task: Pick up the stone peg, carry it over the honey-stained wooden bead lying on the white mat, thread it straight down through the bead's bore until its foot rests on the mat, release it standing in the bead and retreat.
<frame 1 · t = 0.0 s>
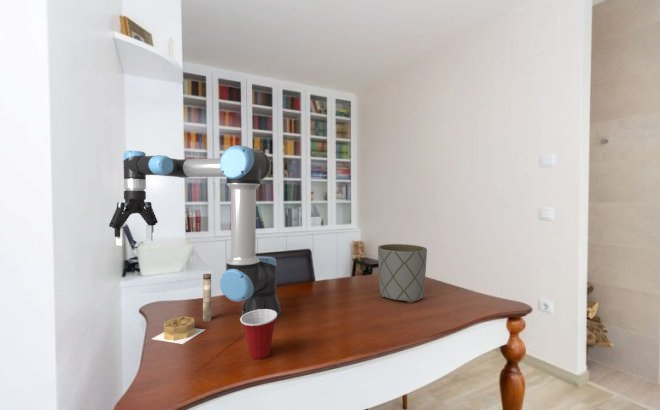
hand: (135, 243, 126), 28 cm above the table, fingers open, 13 cm apart
planter: (401, 296, 151), on the table
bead: (179, 334, 105), resting on mat
stone peg: (207, 322, 117), on the table
mat: (179, 337, 105), on the table
plastic cup: (258, 355, 94), on the table
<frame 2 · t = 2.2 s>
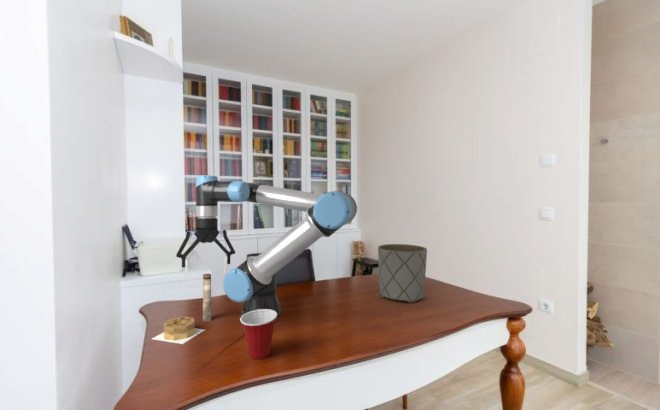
hand: (206, 274, 117), 18 cm above the table, fingers open, 13 cm apart
nothing on the table moved.
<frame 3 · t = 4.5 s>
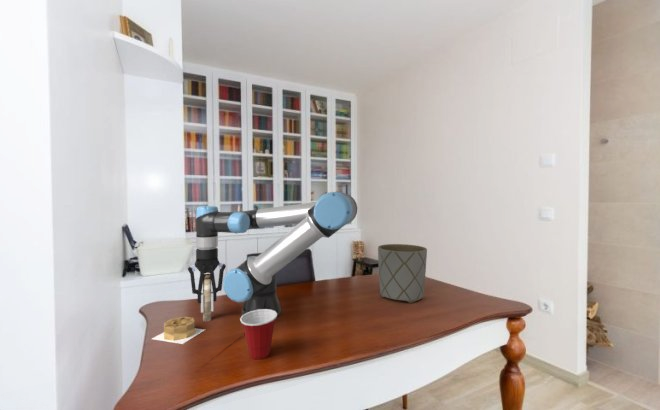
hand: (207, 310, 117), 5 cm above the table, fingers closed on stone peg, 3 cm apart
stone peg: (207, 322, 117), on the table, touching gripper
everything else where it was.
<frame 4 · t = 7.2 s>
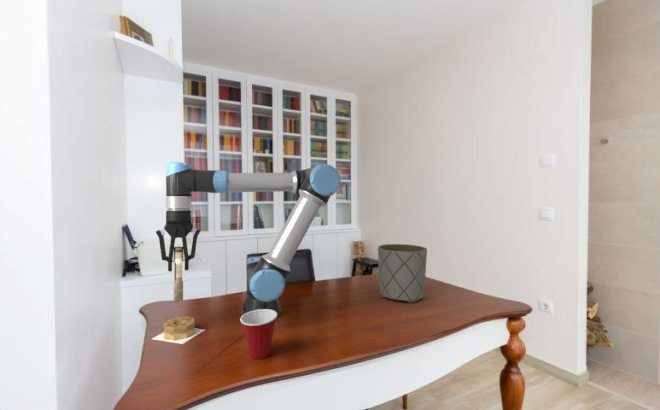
hand: (178, 280, 104), 19 cm above the table, fingers closed on stone peg, 2 cm apart
stone peg: (178, 301, 105), point 12 cm above the table, touching gripper
everything else where it was.
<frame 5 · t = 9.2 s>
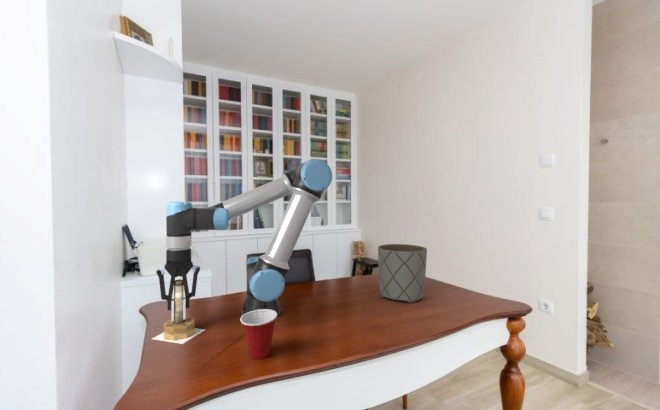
hand: (178, 318, 105), 6 cm above the table, fingers closed on stone peg, 3 cm apart
stone peg: (178, 334, 105), point 1 cm above the table, touching gripper, mat
everything else where it was.
when the fingers open (6 cm above the table, at t = 10.1 s): stone peg stays where it is, resting on mat.
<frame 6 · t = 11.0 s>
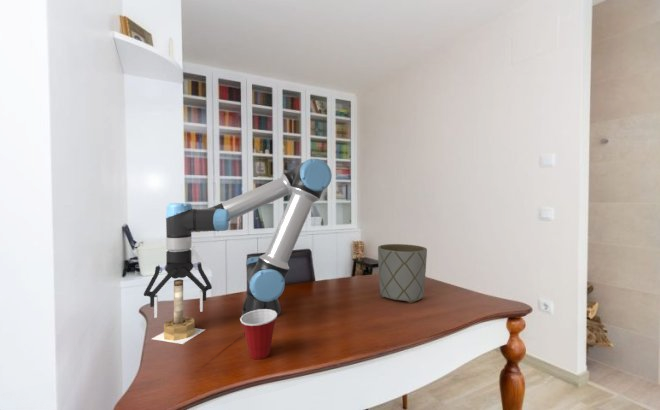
hand: (179, 313, 105), 8 cm above the table, fingers open, 13 cm apart
stone peg: (178, 334, 105), point 1 cm above the table, touching mat
everything else where it was.
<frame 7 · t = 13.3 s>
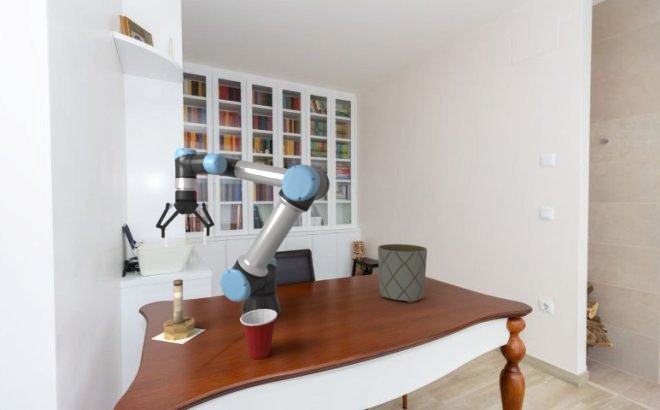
hand: (186, 245, 120), 28 cm above the table, fingers open, 13 cm apart
nothing on the table moved.
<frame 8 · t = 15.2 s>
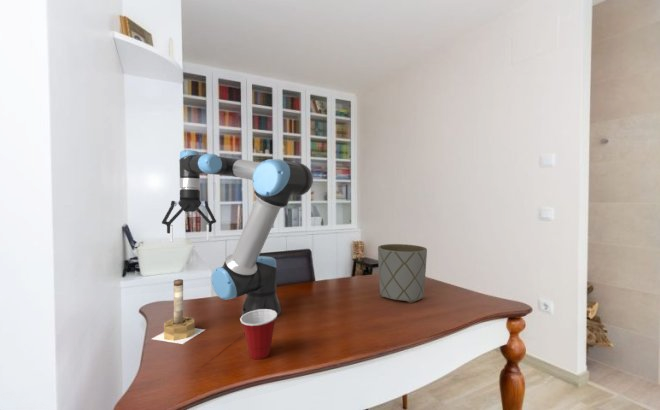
hand: (189, 240, 129), 29 cm above the table, fingers open, 13 cm apart
nothing on the table moved.
at the end: stone peg 0.2 cm off-centre on the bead, point 0.0 cm above the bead's base; stone peg tilted 0°; the gripper is holding nothing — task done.
